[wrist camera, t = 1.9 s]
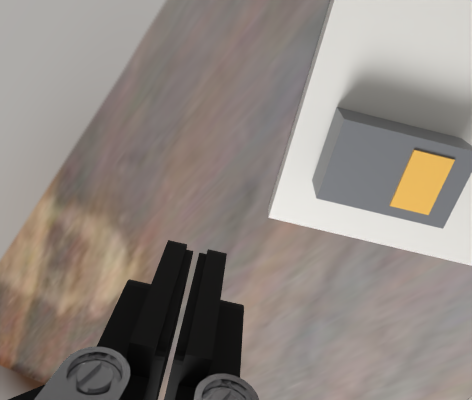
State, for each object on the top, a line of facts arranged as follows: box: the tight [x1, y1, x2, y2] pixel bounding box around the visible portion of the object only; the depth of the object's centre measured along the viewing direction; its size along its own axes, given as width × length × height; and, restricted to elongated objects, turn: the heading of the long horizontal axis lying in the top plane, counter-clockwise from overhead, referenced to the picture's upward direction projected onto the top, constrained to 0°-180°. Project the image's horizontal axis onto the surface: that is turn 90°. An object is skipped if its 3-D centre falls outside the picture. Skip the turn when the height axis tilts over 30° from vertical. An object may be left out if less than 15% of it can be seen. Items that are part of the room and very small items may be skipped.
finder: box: [312, 107, 472, 229], centre depth 27 cm, size 5×8×3 cm, turn 77°
